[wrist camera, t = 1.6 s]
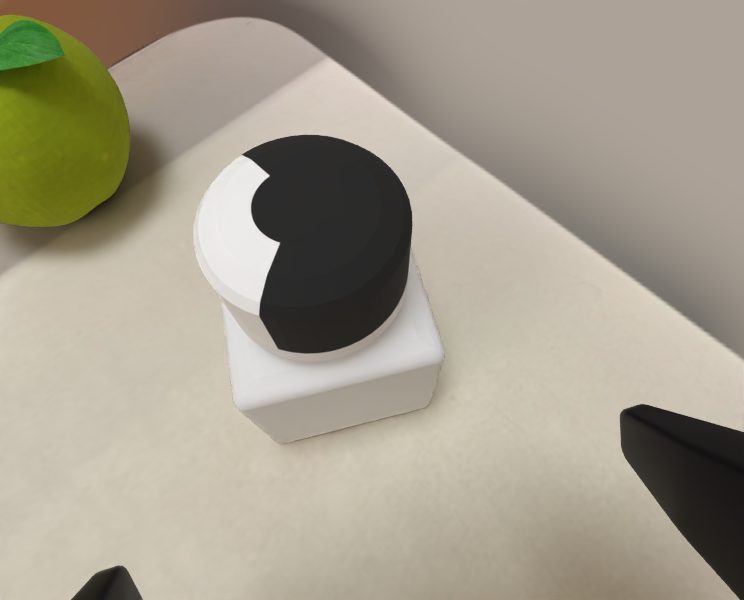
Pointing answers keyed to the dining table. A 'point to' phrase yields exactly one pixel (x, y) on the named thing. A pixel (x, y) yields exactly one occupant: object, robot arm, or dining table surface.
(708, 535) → the robot arm
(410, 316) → the medicine bottle
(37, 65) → the fruit
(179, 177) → the dining table surface
